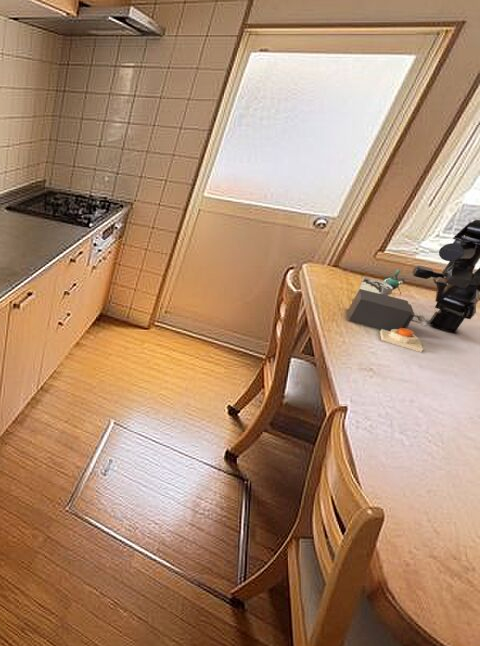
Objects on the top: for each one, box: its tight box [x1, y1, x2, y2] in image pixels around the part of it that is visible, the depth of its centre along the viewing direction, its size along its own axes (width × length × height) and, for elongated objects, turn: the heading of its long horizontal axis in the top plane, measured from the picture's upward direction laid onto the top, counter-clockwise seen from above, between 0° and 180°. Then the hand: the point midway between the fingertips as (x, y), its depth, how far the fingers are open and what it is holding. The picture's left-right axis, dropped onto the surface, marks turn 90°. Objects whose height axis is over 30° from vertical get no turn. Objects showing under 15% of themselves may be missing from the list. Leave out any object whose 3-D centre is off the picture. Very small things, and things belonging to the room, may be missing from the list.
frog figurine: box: [382, 269, 405, 296], centre depth 170 cm, size 10×18×15 cm, turn 146°
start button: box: [397, 328, 415, 337], centre depth 140 cm, size 4×4×2 cm
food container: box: [355, 277, 393, 296], centre depth 164 cm, size 12×6×10 cm, turn 168°
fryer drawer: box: [402, 303, 427, 329], centre depth 150 cm, size 17×11×7 cm
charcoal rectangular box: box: [347, 288, 412, 331], centre depth 152 cm, size 14×13×9 cm
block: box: [379, 329, 424, 353], centre depth 141 cm, size 10×8×3 cm
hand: (437, 301), depth 145 cm, fingers closed
